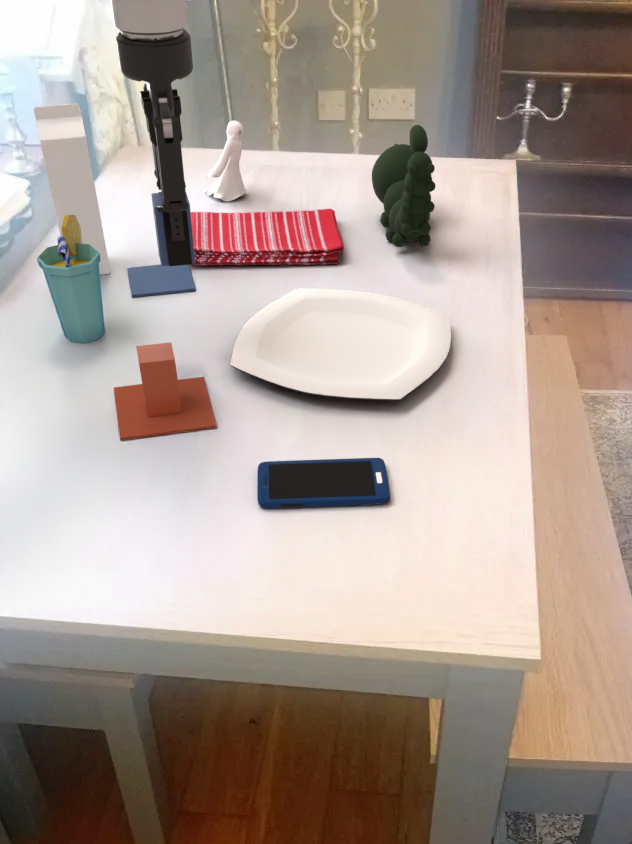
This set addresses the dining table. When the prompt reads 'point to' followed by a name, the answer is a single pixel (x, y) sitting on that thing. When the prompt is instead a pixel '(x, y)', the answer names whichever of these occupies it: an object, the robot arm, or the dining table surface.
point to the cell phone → (322, 483)
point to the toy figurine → (405, 189)
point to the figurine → (228, 167)
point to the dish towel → (266, 238)
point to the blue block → (161, 231)
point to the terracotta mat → (140, 425)
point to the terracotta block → (159, 379)
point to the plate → (343, 344)
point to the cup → (74, 283)
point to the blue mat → (160, 280)
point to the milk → (71, 173)
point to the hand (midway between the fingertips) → (178, 255)
